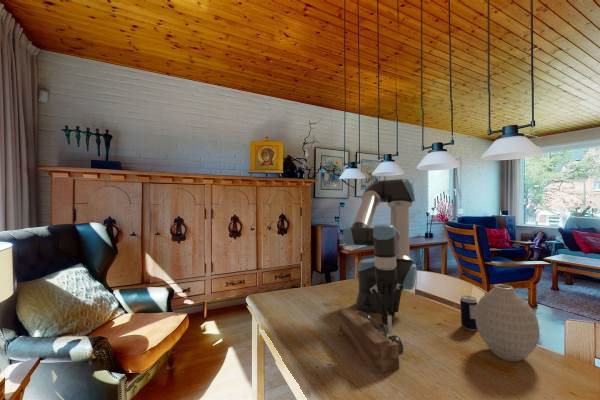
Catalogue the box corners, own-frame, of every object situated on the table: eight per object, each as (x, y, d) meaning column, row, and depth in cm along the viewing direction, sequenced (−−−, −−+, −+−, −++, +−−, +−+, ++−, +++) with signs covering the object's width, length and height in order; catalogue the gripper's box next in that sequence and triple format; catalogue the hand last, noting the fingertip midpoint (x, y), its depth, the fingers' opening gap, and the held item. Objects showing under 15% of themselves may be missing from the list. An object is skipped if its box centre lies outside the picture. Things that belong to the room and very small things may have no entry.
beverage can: (476, 325, 104) (474, 295, 104) (480, 332, 98) (479, 300, 99) (459, 324, 106) (458, 294, 106) (463, 330, 100) (462, 299, 101)
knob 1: (366, 325, 104) (365, 311, 104) (373, 331, 98) (372, 317, 98) (346, 328, 101) (345, 314, 101) (352, 335, 96) (351, 320, 96)
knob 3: (393, 349, 86) (392, 332, 86) (403, 358, 81) (402, 340, 81) (369, 353, 84) (368, 336, 84) (378, 363, 79) (378, 345, 79)
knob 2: (378, 336, 95) (377, 320, 95) (387, 343, 89) (386, 327, 90) (356, 340, 93) (356, 324, 93) (364, 348, 87) (363, 331, 87)
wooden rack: (357, 328, 104) (356, 306, 105) (399, 368, 78) (398, 339, 79) (339, 332, 102) (338, 309, 103) (375, 374, 76) (374, 343, 77)
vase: (526, 378, 72) (521, 298, 73) (466, 350, 87) (463, 284, 87) (551, 360, 80) (546, 288, 80) (492, 337, 94) (489, 276, 95)
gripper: (394, 263, 99) (397, 325, 98) (364, 266, 96) (367, 330, 95) (407, 267, 91) (410, 334, 91) (374, 271, 88) (378, 340, 88)
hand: (388, 332), depth 93 cm, fingers closed
